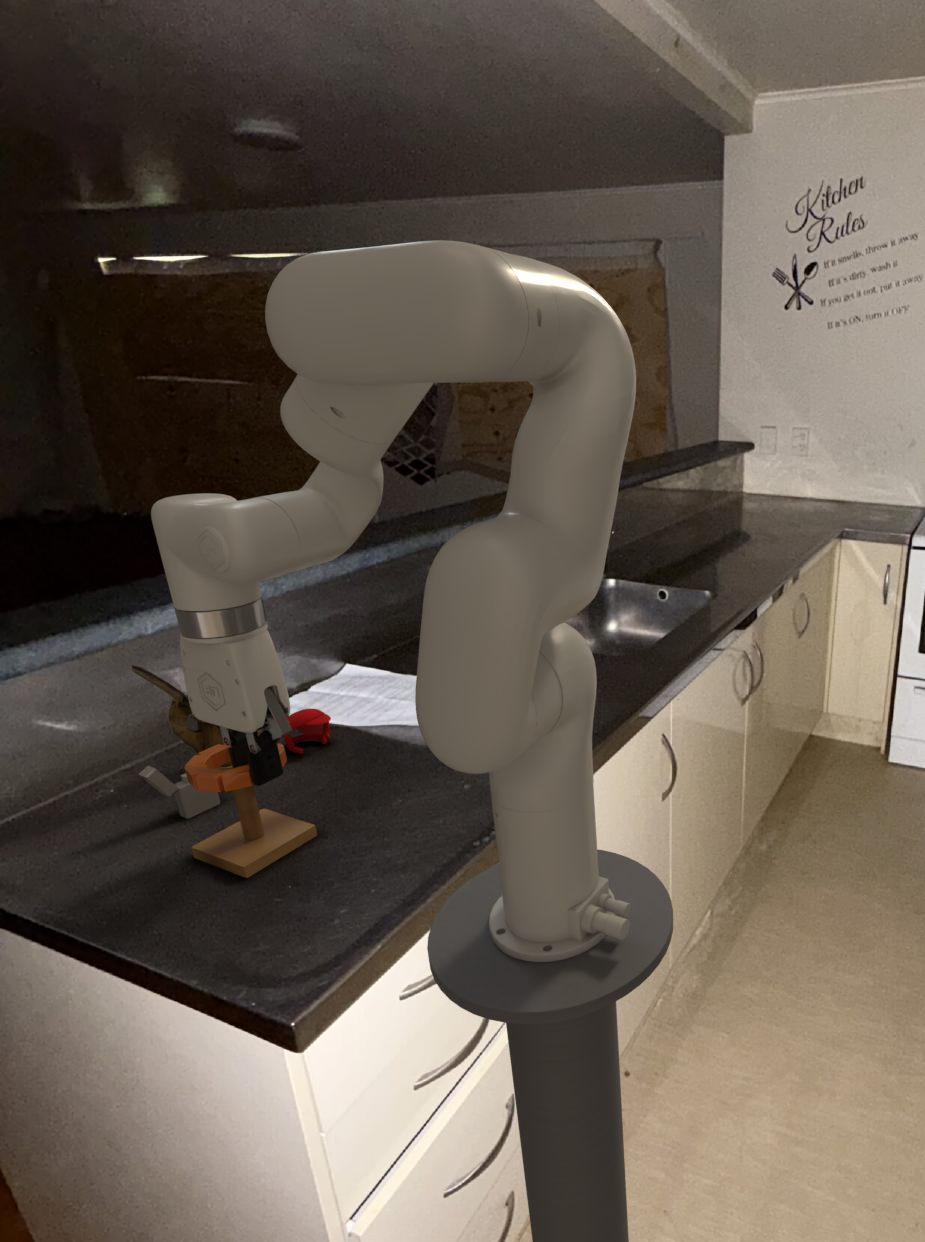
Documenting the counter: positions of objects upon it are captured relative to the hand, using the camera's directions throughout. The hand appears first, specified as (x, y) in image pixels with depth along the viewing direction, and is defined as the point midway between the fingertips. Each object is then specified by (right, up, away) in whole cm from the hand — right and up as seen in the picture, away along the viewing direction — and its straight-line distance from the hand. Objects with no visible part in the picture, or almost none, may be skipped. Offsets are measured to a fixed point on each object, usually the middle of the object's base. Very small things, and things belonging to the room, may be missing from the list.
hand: (259, 775), depth 83 cm
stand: (-3, -9, +5) cm, 11 cm away
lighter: (-16, -7, +11) cm, 21 cm away
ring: (-3, 0, +1) cm, 4 cm away
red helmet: (-10, 0, +28) cm, 30 cm away
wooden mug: (-19, -3, +22) cm, 29 cm away
